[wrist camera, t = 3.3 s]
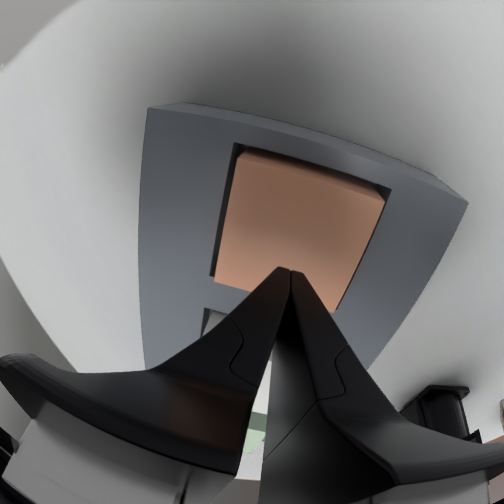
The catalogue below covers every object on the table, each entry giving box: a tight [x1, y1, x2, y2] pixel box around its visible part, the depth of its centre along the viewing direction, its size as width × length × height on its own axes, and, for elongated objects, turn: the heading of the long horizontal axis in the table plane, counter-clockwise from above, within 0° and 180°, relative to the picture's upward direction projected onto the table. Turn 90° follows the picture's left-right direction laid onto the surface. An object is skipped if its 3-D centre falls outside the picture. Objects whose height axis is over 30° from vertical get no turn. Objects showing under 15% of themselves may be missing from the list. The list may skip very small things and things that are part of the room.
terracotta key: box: [214, 147, 385, 313], centre depth 12 cm, size 6×6×2 cm
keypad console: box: [138, 103, 468, 442], centre depth 18 cm, size 14×25×4 cm, turn 168°
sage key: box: [243, 411, 267, 454], centre depth 20 cm, size 6×6×2 cm
